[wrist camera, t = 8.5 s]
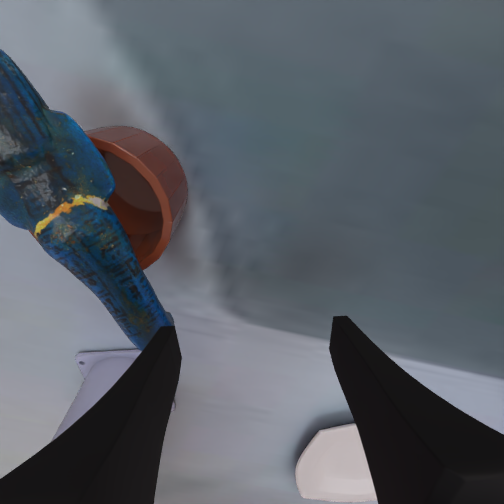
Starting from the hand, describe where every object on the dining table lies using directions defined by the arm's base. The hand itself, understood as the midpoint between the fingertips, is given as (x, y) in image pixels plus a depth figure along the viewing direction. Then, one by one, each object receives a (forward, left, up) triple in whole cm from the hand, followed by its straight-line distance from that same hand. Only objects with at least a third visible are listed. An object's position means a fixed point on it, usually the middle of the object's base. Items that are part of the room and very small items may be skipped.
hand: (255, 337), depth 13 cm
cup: (+4, +8, -10) cm, 14 cm away
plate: (-32, -14, -9) cm, 36 cm away
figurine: (+4, +8, -5) cm, 10 cm away
